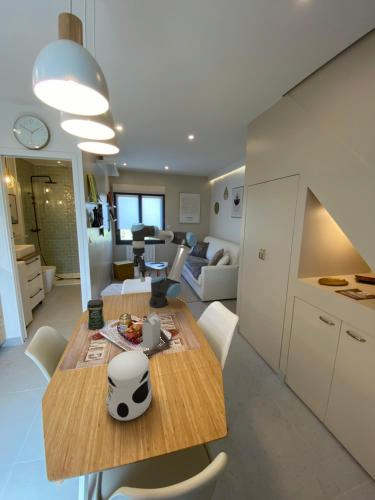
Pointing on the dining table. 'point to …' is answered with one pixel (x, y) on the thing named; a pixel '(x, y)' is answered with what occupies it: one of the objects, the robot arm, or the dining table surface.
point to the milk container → (128, 385)
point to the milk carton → (151, 331)
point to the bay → (159, 348)
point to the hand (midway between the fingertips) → (139, 278)
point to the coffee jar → (95, 314)
